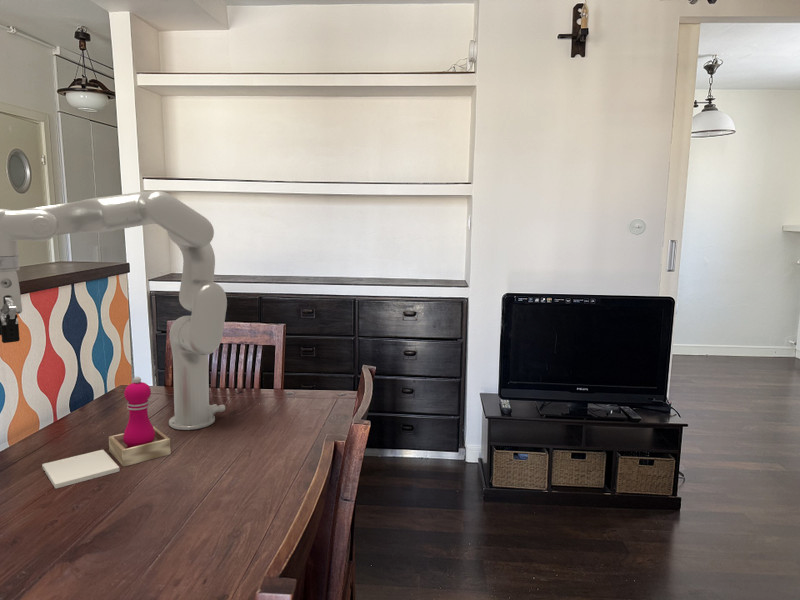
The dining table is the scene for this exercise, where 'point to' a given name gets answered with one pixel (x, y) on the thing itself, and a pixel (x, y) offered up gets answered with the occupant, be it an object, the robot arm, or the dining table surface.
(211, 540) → the dining table surface
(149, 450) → the holder
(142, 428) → the pepper mill
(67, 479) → the tile
